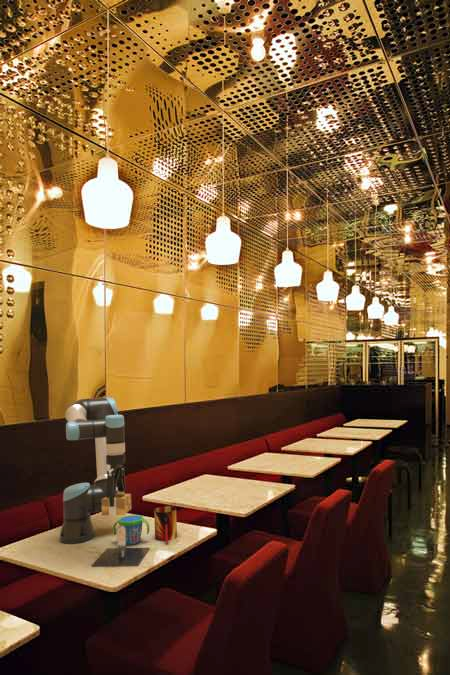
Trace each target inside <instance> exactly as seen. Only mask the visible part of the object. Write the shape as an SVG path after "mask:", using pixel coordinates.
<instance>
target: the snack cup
mask: <svg viewBox="0 0 450 675" xmlns="http://www.w3.org/2000/svg"><path fill="white" fill-rule="evenodd" d="M143 523H145V525H146V535H149V533H150V524H149V522H148V520H147V519H145V518H144V516H142V515H139V514H131V515H126V516H125V515H124V516H123V517H120V518H119V519H117V520H116V521H115V523H114V525H113V530H112V533H113V535H114V536H116V535H117V529H116V526H117V524H118V525H119V526H124V527H125V532H126V546H130V545H132V546H133V545H137V544H139V543H140V542H141V540H142V532H143V531H142V529H143Z"/></svg>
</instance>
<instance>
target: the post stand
mask: <svg viewBox="0 0 450 675" xmlns="http://www.w3.org/2000/svg"><path fill="white" fill-rule="evenodd" d="M116 535H117V536H116V538H117V547H113V548H110V547H109V548H106V549H105V550H104V552H102V553H101V554H100V556H99V557H98V558H97V559H96V560H95V561H94V562H93V563H92V564H91V567H92V568H98V567H101V568H102V567H103V568H104V567H105V568H106V567H111V568H112V567H139V566H140V564H141V562H143V560H144V558H146V555H147V554H148V552H149V551H150V550H151V547H127V545H126V532H125V527H124V526H120V525H119V526H118V527H117V529H116Z"/></svg>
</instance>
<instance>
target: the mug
mask: <svg viewBox="0 0 450 675" xmlns="http://www.w3.org/2000/svg"><path fill="white" fill-rule="evenodd" d="M153 514H154V517H153V518H154V540H156V541H159V542H166V543H168V542H169V541H173V540H175V539H177V538H178V528H177V527H178V525H177V524H178V522H177V508H176V507H175V506H161V507H157V508H155V509H154V511H153Z"/></svg>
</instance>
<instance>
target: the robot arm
mask: <svg viewBox="0 0 450 675" xmlns="http://www.w3.org/2000/svg"><path fill="white" fill-rule="evenodd" d="M118 411H119V410H118V406H117V402H116V400H115V399H114V398H113V397H97V398H96V397H95V398H81V399H78V400H75V401H74V402H72V403H70V404H69V405H68V406H67V408H66V410H65V415H64V416H65V420H66V421H67V422H66V424H65V432H66V433H65V435H66V436H65V437H66V440H67V441H80V440H89V439H94V440H95V442H94V443H95V458H96V459H95V460H96V476H97V477H96V479H95V480H94V481H93V485H91V484H90V483H89V482H81V483H75V484H72V485H69V486H68V487H66V488H65V489H63V496H62V497H63V498H62V502H63V523H62V525H61V526H62V527H61V530H60V534H59V542H60V543H62V544H71V545H72V544H79V543H83V542H88V541H91V540H92V539H94V538H95V536H96V534H95V533H96V531H95V528H94V525H93V522H92V519H91V513H97V512H102V499H103V498H105V497H106V498H109V515H108V516H117V515H116V497H115V494H125V492H127V484H126V476H125V475H126V473H125V465H124V464H125V463H126V454H125V453H126V441H125V424H126V423H125V417H124V416H125V415H122V414H118Z"/></svg>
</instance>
